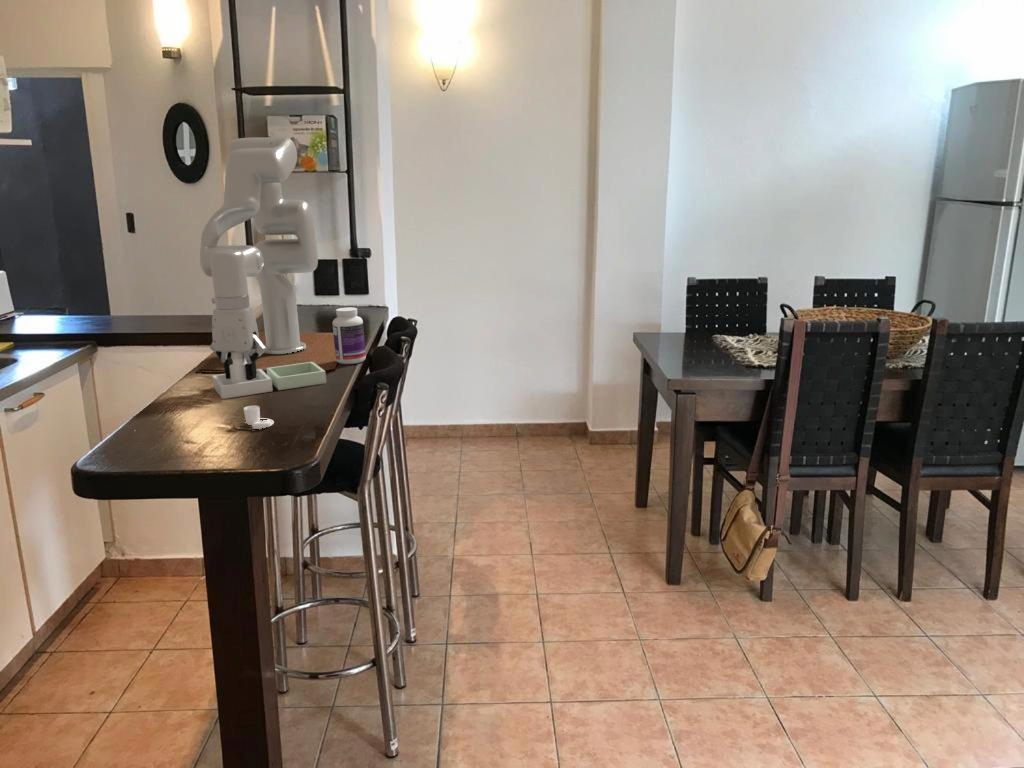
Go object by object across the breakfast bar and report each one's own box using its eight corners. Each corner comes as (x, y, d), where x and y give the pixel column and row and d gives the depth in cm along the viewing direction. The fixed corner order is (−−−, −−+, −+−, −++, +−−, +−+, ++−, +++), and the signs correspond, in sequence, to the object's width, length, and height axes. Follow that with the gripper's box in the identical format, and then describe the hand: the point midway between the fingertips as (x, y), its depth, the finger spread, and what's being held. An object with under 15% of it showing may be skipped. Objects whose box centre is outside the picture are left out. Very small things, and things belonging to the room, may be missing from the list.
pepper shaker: (254, 389, 195) (250, 350, 192) (239, 392, 192) (234, 353, 189) (246, 386, 197) (242, 348, 195) (230, 389, 195) (226, 351, 192)
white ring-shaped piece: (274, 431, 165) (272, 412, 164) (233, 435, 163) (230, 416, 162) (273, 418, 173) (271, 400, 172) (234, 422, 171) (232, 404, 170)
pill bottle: (372, 359, 221) (368, 307, 217) (354, 366, 214) (350, 312, 210) (347, 357, 224) (343, 305, 220) (329, 363, 217) (325, 310, 213)
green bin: (267, 379, 203) (266, 367, 202) (313, 372, 208) (312, 361, 207) (278, 390, 193) (277, 378, 192) (326, 383, 198) (325, 371, 198)
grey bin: (213, 387, 197) (212, 375, 196) (262, 380, 202) (260, 368, 201) (222, 398, 187) (220, 386, 186) (272, 391, 192) (271, 379, 192)
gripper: (191, 305, 188) (201, 380, 193) (255, 307, 183) (263, 384, 188) (211, 299, 195) (220, 372, 200) (273, 301, 190) (281, 376, 195)
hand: (241, 377), depth 194 cm, fingers closed on pepper shaker, 5 cm apart
